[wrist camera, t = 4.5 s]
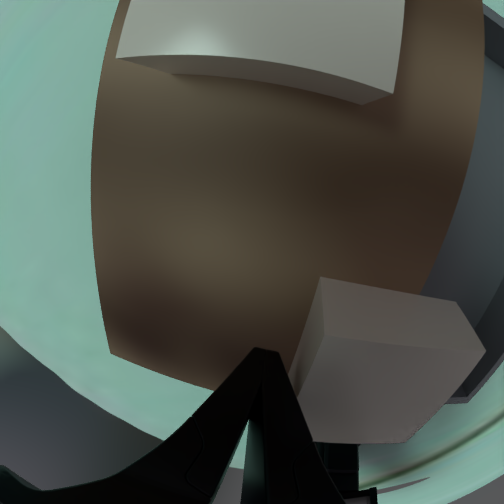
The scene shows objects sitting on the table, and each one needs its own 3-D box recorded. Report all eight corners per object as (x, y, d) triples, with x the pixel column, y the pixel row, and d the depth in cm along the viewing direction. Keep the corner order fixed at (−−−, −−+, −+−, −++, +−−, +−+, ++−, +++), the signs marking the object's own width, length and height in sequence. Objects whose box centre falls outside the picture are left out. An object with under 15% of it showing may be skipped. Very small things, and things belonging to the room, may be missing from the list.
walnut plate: (335, 343, 15) (340, 414, 11) (153, 297, 16) (110, 353, 11) (428, 20, 7) (480, -15, 3) (197, -24, 8) (151, -72, 3)
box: (449, 359, 14) (467, 402, 11) (335, 343, 15) (339, 398, 11) (545, 104, 6) (589, 110, 3) (428, 20, 7) (467, -7, 3)
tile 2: (395, 395, 10) (404, 442, 7) (284, 383, 10) (277, 436, 8) (455, 301, 7) (486, 350, 5) (320, 276, 8) (324, 335, 6)
